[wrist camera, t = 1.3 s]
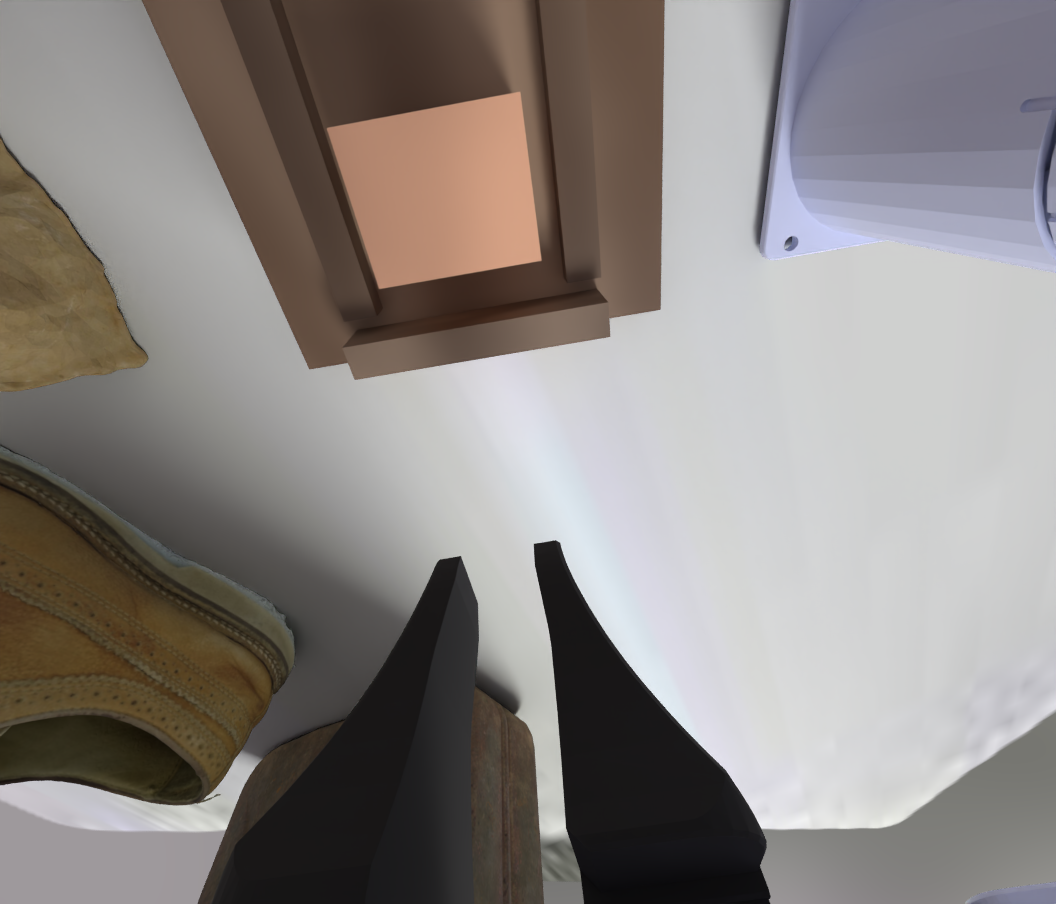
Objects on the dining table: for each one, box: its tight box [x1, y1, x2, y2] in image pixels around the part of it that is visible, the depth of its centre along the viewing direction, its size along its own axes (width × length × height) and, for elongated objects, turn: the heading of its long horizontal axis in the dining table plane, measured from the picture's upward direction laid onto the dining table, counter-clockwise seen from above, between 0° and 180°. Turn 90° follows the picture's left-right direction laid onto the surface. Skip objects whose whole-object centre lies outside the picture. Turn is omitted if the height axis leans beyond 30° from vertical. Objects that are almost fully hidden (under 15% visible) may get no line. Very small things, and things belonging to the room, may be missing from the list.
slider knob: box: [327, 92, 542, 289], centre depth 13 cm, size 5×4×2 cm
